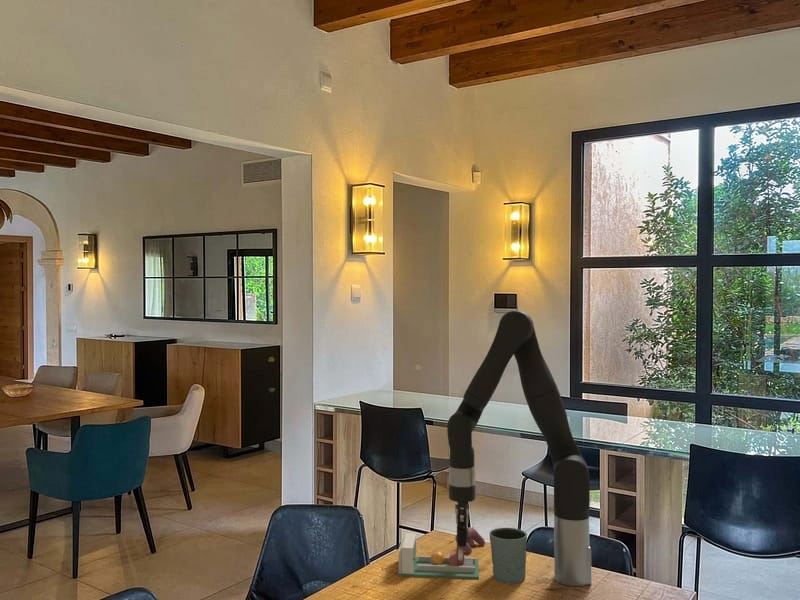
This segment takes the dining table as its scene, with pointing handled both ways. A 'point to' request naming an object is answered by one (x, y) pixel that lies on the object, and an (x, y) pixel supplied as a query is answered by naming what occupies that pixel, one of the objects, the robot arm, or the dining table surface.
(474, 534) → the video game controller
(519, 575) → the green cup
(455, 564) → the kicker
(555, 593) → the dining table surface
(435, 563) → the ball
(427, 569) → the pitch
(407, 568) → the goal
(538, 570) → the dining table surface
